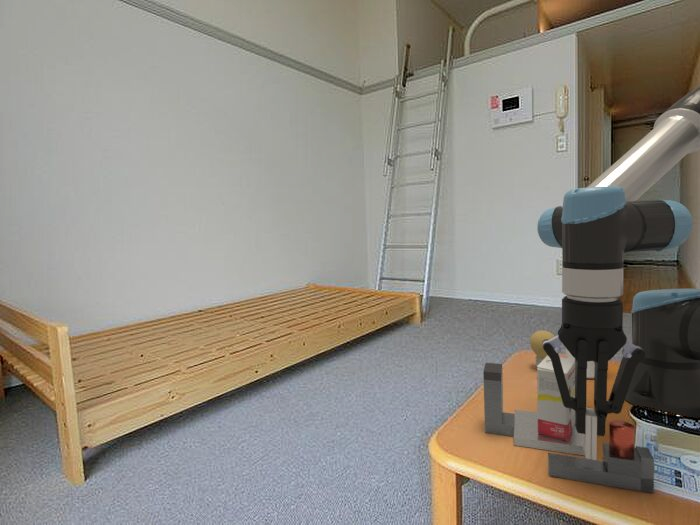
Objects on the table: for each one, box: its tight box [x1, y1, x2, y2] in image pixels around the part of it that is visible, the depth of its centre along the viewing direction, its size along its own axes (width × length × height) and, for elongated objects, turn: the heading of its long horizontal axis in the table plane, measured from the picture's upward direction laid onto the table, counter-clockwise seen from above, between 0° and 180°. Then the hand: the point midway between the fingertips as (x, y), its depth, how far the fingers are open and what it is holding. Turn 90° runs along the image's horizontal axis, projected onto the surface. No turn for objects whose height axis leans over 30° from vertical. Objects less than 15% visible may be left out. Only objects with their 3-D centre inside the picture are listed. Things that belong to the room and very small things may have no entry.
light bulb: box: [529, 330, 556, 369], centre depth 104 cm, size 6×6×10 cm
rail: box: [547, 445, 655, 494], centre depth 60 cm, size 13×3×5 cm, turn 67°
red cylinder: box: [602, 419, 642, 478], centre depth 59 cm, size 4×4×6 cm
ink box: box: [536, 355, 575, 441], centre depth 72 cm, size 9×5×12 cm, turn 142°
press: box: [483, 362, 585, 457], centre depth 74 cm, size 16×11×12 cm
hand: (589, 454), depth 60 cm, fingers closed
